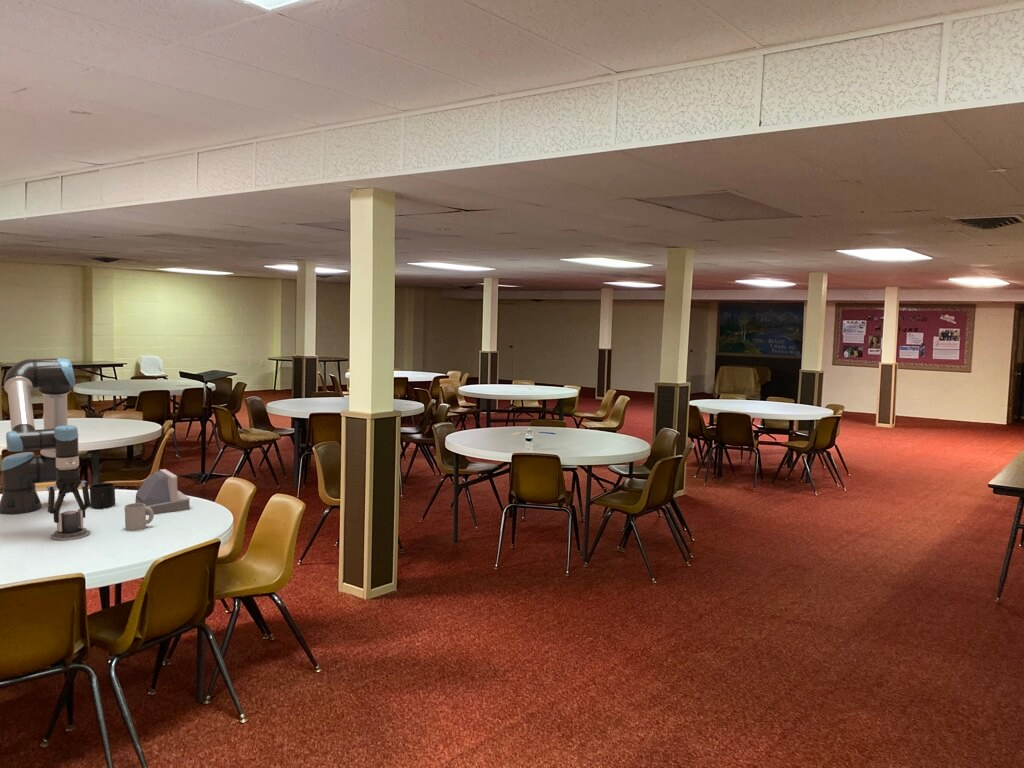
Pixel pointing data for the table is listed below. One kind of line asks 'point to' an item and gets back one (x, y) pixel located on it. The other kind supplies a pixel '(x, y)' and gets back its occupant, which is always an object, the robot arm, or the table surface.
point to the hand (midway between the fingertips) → (70, 528)
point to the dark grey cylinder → (70, 522)
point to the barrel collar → (70, 535)
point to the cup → (137, 516)
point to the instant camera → (162, 493)
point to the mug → (102, 495)
